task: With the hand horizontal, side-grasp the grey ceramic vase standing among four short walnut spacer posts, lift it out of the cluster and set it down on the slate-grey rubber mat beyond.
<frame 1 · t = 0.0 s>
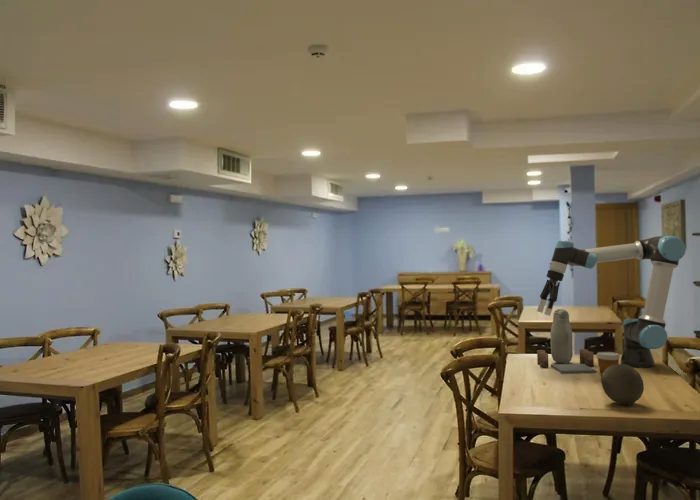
hand: (543, 313, 276), 28 cm above the table, tool tilted 20°, fingers open, 13 cm apart
spacer 2: (584, 363, 293), on the table
coconut: (622, 405, 214), on the table
spacer 1: (541, 364, 293), on the table
grey ceramic vase: (562, 364, 293), on the table
spacer 4: (589, 366, 286), on the table
spacer 3: (544, 367, 285), on the table
mat: (572, 369, 278), on the table
disposable coffee cup: (608, 381, 253), on the table
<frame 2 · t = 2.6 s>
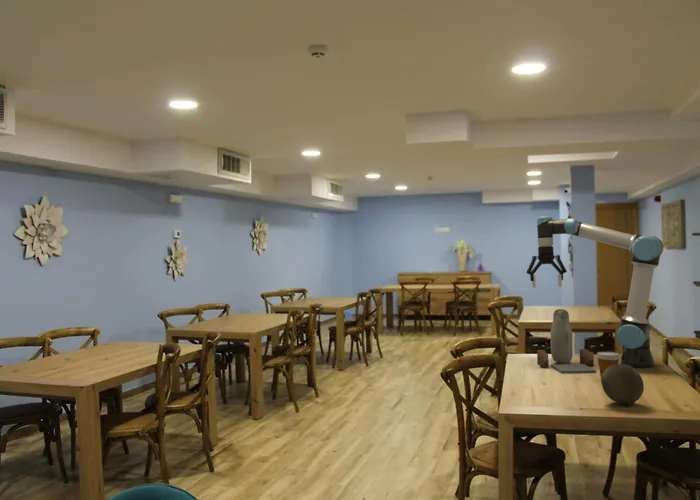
hand: (547, 287, 297), 39 cm above the table, tool pointing down, fingers open, 13 cm apart
nothing on the table moved.
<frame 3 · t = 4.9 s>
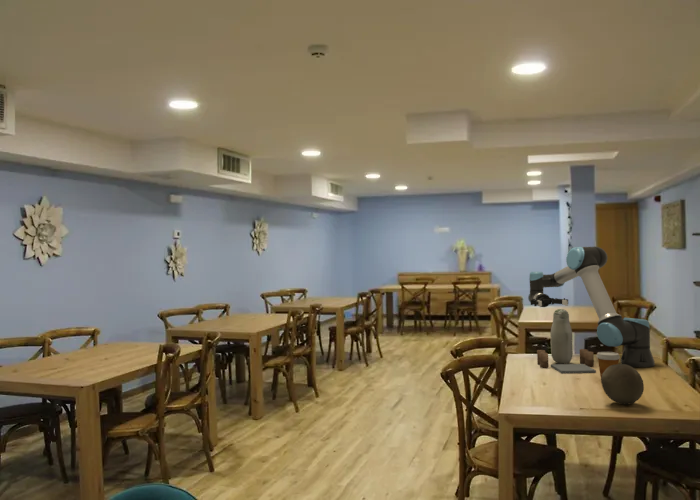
hand: (554, 303, 303), 30 cm above the table, tool horizontal, fingers open, 13 cm apart
nothing on the table moved.
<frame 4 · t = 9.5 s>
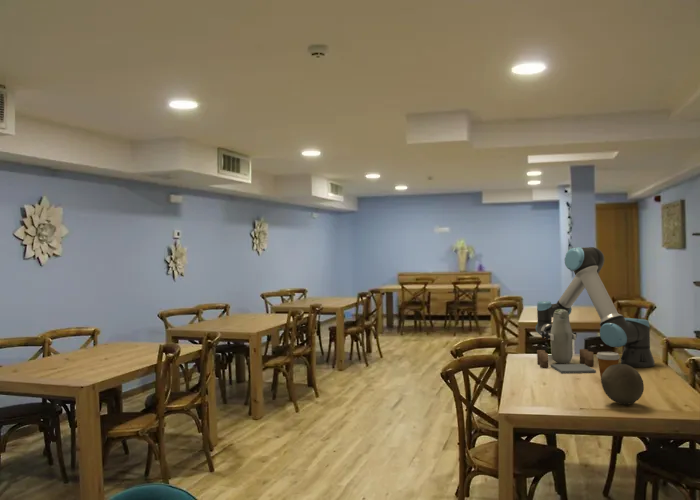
hand: (564, 337, 289), 14 cm above the table, tool horizontal, fingers closed on grey ceramic vase, 10 cm apart
grey ceramic vase: (562, 364, 293), on the table, touching gripper
everything else where it was.
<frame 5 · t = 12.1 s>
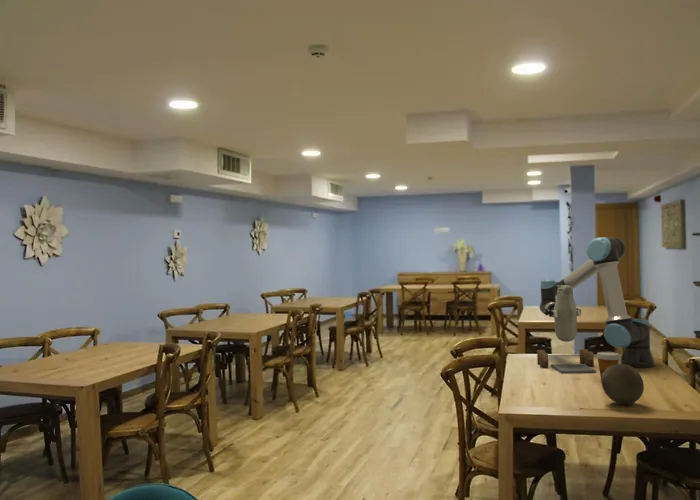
hand: (568, 314, 280), 27 cm above the table, tool horizontal, fingers closed on grey ceramic vase, 10 cm apart
grey ceramic vase: (566, 341, 284), point 13 cm above the table, touching gripper
everything else where it was.
when the fingers open (17 cm above the table, at t = 15.1 s): grey ceramic vase drops 1 cm, resting on mat.
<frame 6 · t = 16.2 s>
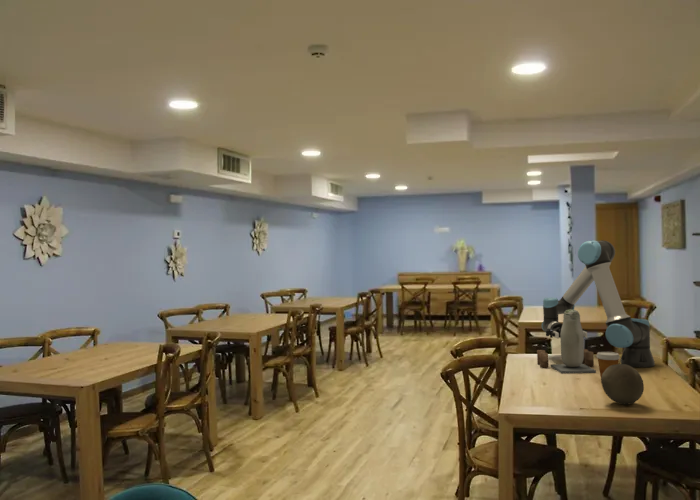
hand: (572, 335, 277), 17 cm above the table, tool horizontal, fingers open, 13 cm apart
grey ceramic vase: (572, 367, 278), point 1 cm above the table, touching mat
everything else where it was.
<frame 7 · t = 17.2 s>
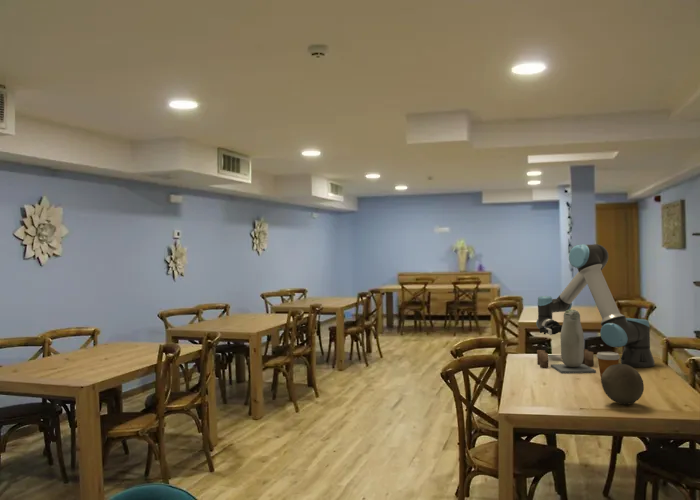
hand: (564, 332, 288), 17 cm above the table, tool horizontal, fingers open, 13 cm apart
nothing on the table moved.
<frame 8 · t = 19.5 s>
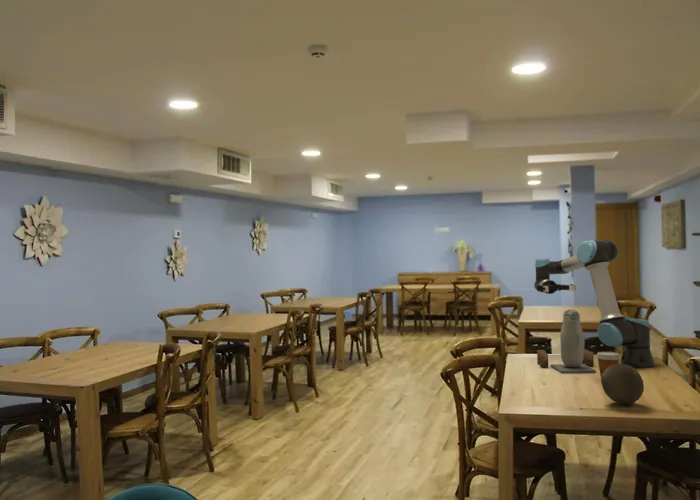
hand: (561, 289, 297), 38 cm above the table, tool horizontal, fingers open, 13 cm apart
nothing on the table moved.
at the end: grey ceramic vase 0.1 cm from the mat (horizontally); grey ceramic vase tilted 0°; the gripper is holding nothing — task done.
